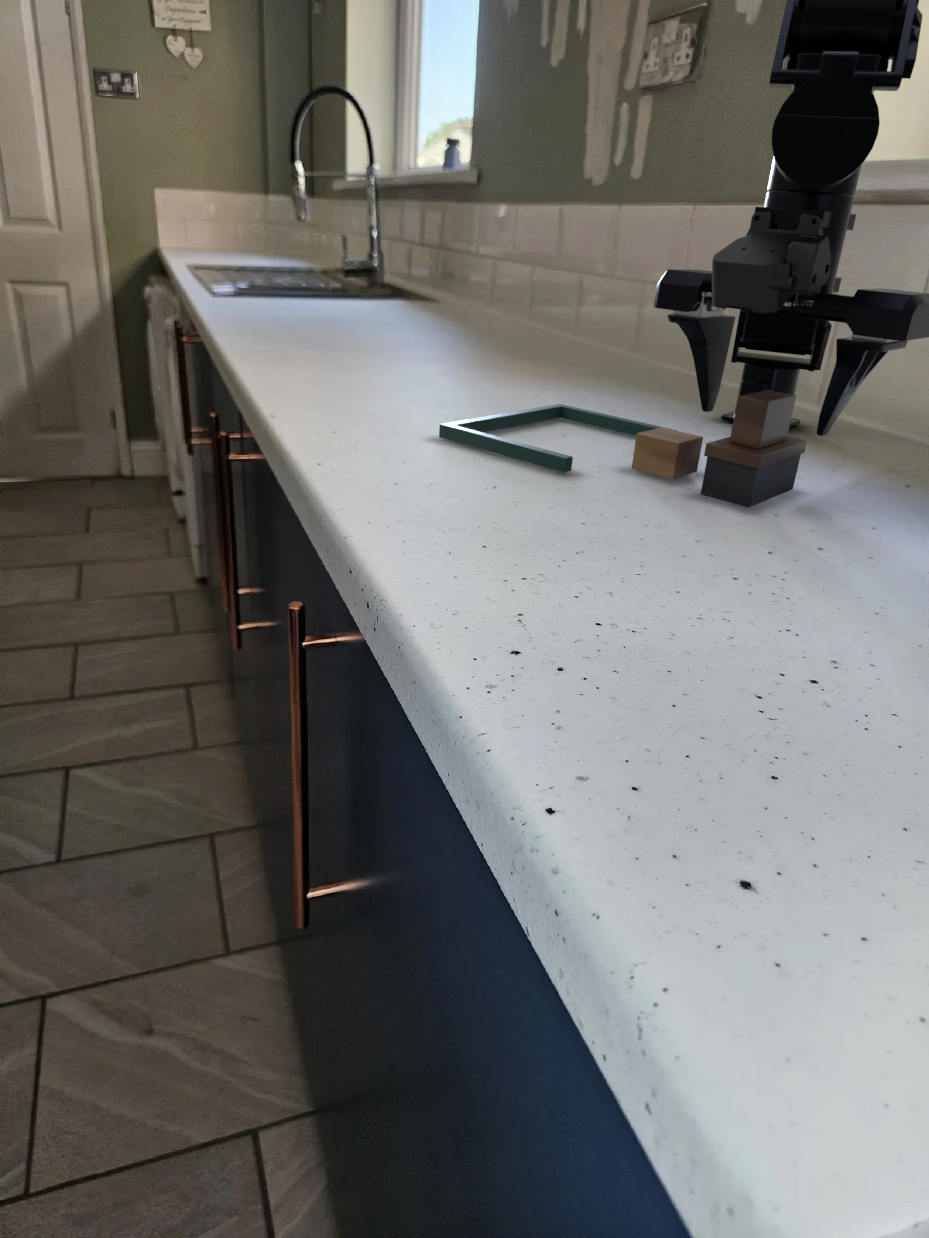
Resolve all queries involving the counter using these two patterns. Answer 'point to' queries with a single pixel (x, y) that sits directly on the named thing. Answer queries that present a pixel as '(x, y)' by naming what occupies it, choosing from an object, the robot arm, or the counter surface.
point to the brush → (754, 452)
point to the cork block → (667, 452)
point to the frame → (474, 428)
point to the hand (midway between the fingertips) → (762, 422)
